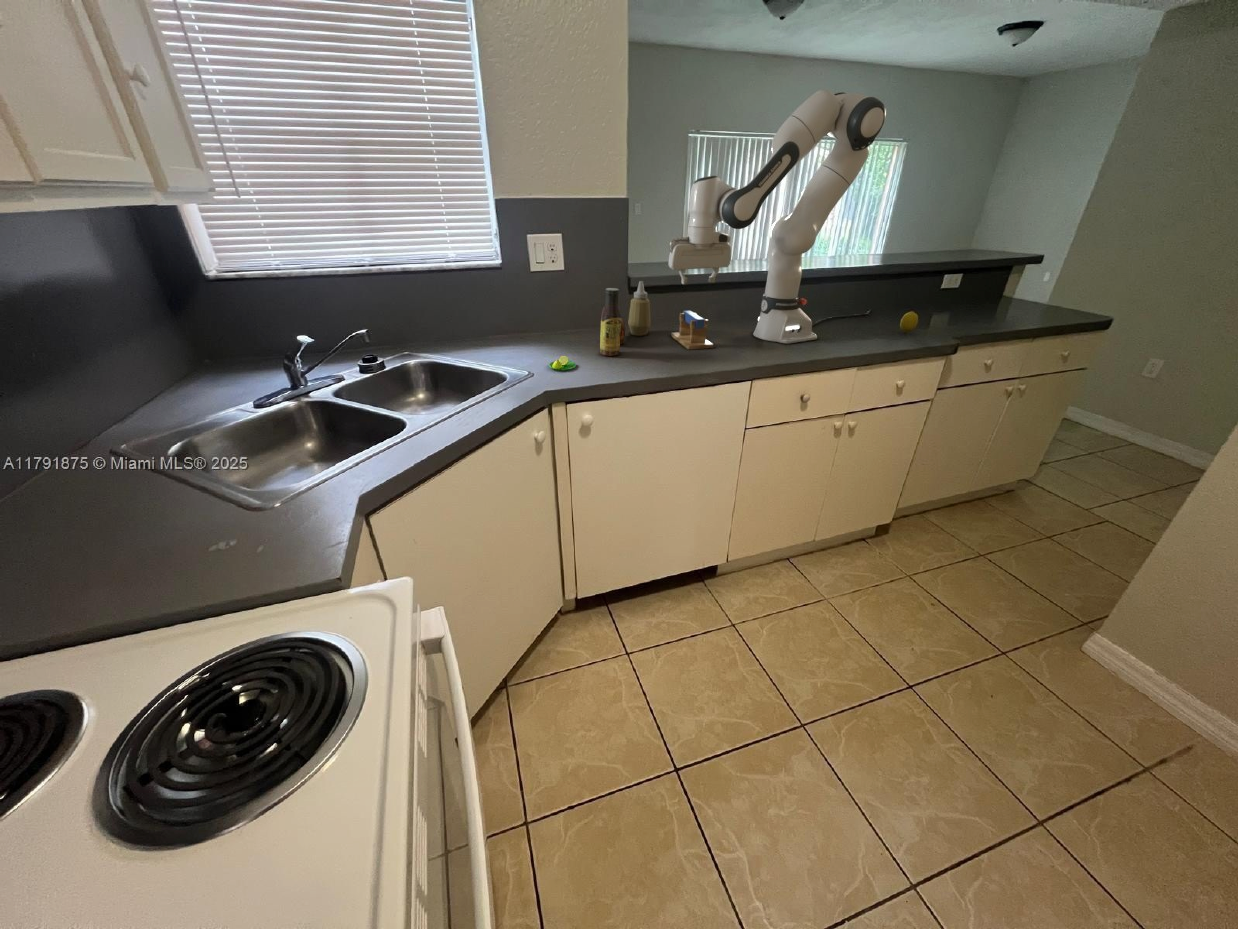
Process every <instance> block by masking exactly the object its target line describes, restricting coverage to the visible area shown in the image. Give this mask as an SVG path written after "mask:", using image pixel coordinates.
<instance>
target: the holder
mask: <svg viewBox="0 0 1238 929" xmlns="http://www.w3.org/2000/svg"><path fill="white" fill-rule="evenodd" d="M694 313H695V314H697V315H698V313H697V312H694ZM678 320H679V331H677V332H670V333H671V335H670V336H671V337H672V338H673V339H674V340H675V341H677V342H678V343H680V344H681V346H683V347H684V348H685V349H687V350H702V349H714V344H715V343H713V342H711V341H709V340H708V339H707V338H706V337H707V331H708V329H709V322H710V320H709V319H704V328H699V329H696V328H695V321H694V320H691V321H690V324H689V323H687V322H686V321H684V314H683V312H680V313H679V318H678Z"/></svg>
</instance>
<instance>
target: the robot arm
mask: <svg viewBox="0 0 1238 929" xmlns="http://www.w3.org/2000/svg"><path fill="white" fill-rule="evenodd" d="M886 117H887V109H886V106H885V104H884V103H883V102H882V101H881V100H880V99H879V98H876V97H874V96H868V95H866V94H862V93H858V92H857V93H853V92H852V93H849V92H848V93H847V92H842V91H841V92H836V93H833V91H830V90H828V89H820V90H818V91H816V92H814V93H813V94H812V95H811V96H809V97H808V98H807V99H806V100H804V101H803V102H802V103H801V104H800V105H799V106H798V107H797V108H796V109H795V110H794V111H793V112H792V113H791V114H790V115H789V116H788V117H787V119H786V120H785V121H784V122H782V125H781V126H780V127H779V128H778V130H777V132H776V133H775V134H774V136H773V137H772V140H771V154H770V157H769V159H768V160H767V161H766V163H765V164H764V165H763V167H762V168H761V169H760V170H759V171H758V172H757V174H755V175H754V177H753V178H752V179H751V180H750V181H749V182H748V184H746V185H745V186H743V187H740V188H735V187H734V186H731V185H730V184H728V183H726V182H724V181H723V180H722V179H721V178H719V176H718V175H710V176H708V175H707V176H703V177H700V178H697V179H696V180H694V182H693V183H692V186H691V188H690V194H689V203H688V213H689V220H688V224H687V234H686V236H682V237H676V236H675V237H674V238H673V239H671V240H670V242H669V256H668V267H669V269H670V270H672V271H678V274H679V276H680V278H681V284H682V285H688V283H689V278H688V277H686V276H685V274H686V270H699V269H711V270H712V273H711V274H710V275H709V276H708V280H707V282H708V283H710V284H712V283H715V281H716V277H717V275H718V274H719V273H720V269H721V268H728V267H729V266H730V265H731V260H732V248H731V244H730V242H731V238H732V237H731V235H729V234H726V233H724V232H722V231H720V230H719V231H718V230H717V228H718V227H717V226H718V223H724V224H725V225H727V226H729V227H730V228H732V229H734V230H743V229H746V228H747V227H749V226H750V225H752V223H754V221H755V220H756V219H757V216H758V215H759V212H760V210H761V208H762V205H763V204H764V202H765V201H766V199H767V198H768V197H769V196H770V195H771V193H773V191H774V190H775V189H776V187H777V186H778V185H779V184H780V183H781V182H782V181H783V179H784V178H785V177H786V176H787V175H788V174H789V172H790V171H791V170H792V169H794V168H795V166H797V165H798V164H799V163H800V162H801V161H802V160H803V159H805V157H806V156H807V155H808V154H810V153H811V151H812V150H813V149H814V148H815V147H816V146H817V145H818V144H819V143H820V142H821V141H822V139H823V138H825V136H827V137H831V138H833V139H835V140H834V144H833V146H832V149H831V151H830V153H829V154H828V155H827V157H826V158H825V159H824V160H823V162H821V165H820V166H819V167H818V169H817V170H816V171H815V173H814V174H813V176H812V177H811V178H810V180H809V181H808V183H807V184H806V186H804V188H803V190H802V191H801V195H800V197H799V199H798V201H797V203H796V204H795V206H794V208H793V210H792V211H791V213H790V214H785V215H783V216H781V217H780V218H778V219H777V220H775V222H774V223H773V224H772V226H771V229H770V238H769V239H770V240H769V252H768V267H767V268H768V269H767V279H766V283H765V289H764V293H763V294H762V299H761V303H760V314H759V316H758V318H757V324H756V327H755V329H754V331H753V333H752V335H753V336H754V337H755V338H757V339H760V340H764V341H767V342H777V343H781V344H794V343H801V342H807V341H813V340H814V341H815V340H817V339H818V335H817V334H816V333H814V331H813V327H814V326H815V325H818V324H819V323H821V322H824V321H828V320H834V319H835V320H836V319H843V318H854V317H855V318H856V317H864V316H868V315H869V314H870V313H871V309H870V310H869V309H868V310H869V311H867V312H865V313H858V314H857V313H856V314H847V315H846V314H845V315H838V316H829V317H825V318H821V319H819V320H817V321H815V322H814V323H813V321H812V319H811V318H810V317H809V316H808V315H807V314H806V312H804V311H803V310H802V309H801V305H802V306H805V305H806V304H807V299H806V298H803V297H802V298H800V297H799V296H798V295H799V290H800V285H801V281H802V276H803V269H802V268H803V267H802V265H803V264H802V261H803V254H805V253H807V252H809V251H810V250H811V249H812V248H813V246H814V245H815V242H816V239H817V237H818V235H819V233H820V232H821V230H822V228H823V227H824V225H825V223H826V221H827V219H828V218H829V216H830V214H831V212H832V211H833V209H834V208H835V207H836V205H837V204H838V203H839V201H840V200H841V199H842V197H843V196H844V195H845V193H846V192H847V191H848V189H849V188H850V187H851V185H852V184H853V183H854V181H855V179H856V178H857V177H858V175H859V174H860V172H861V170H862V168H863V167H864V166H865V164H866V162H867V159H868V158H869V155H870V146H871V145H872V144H873V143H874V142H875V139H876V138H877V137H878V136H879V134H880V132H881V130H882V128H883V126H884V124H885V121H886Z"/></svg>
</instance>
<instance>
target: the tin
mask: <svg viewBox="0 0 1238 929" xmlns="http://www.w3.org/2000/svg"><path fill="white" fill-rule="evenodd" d="M626 328H627V327H626V323H625V321H624V320H623V319H622V318H621V330H620V345H623V344H624V343H625V341H626Z"/></svg>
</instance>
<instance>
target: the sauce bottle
mask: <svg viewBox="0 0 1238 929" xmlns="http://www.w3.org/2000/svg"><path fill="white" fill-rule="evenodd" d="M619 295H620V289H619V288H616V287H607V288H605V305H604V306H603V308H602V311H601V319H600V334H599V335H600V338H599V352H600V355H602V356H605V357H615V356H619V353H620V349H621V348H620V347H621V344H620V330H621V319H622V315H621V309H620V307H619Z"/></svg>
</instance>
